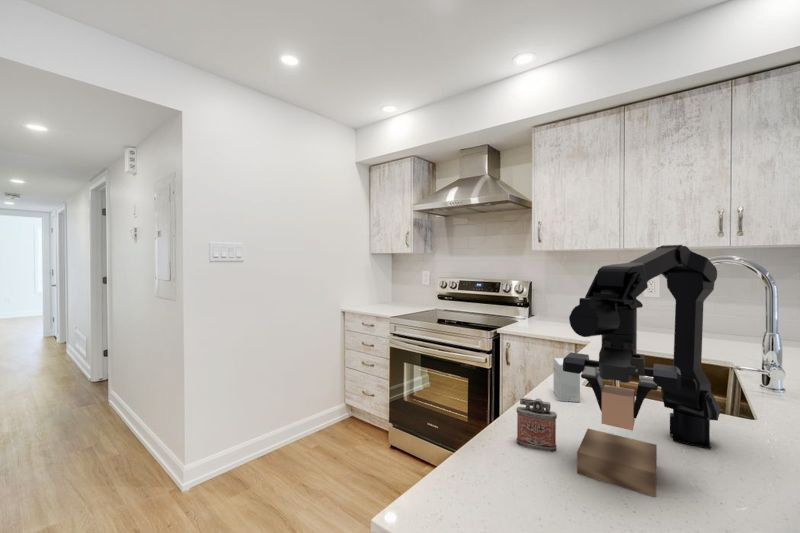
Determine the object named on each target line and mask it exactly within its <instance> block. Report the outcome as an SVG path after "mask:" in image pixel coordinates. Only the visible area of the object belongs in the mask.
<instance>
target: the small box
mask: <svg viewBox="0 0 800 533" xmlns="http://www.w3.org/2000/svg"><path fill="white" fill-rule="evenodd" d="M564 358H565V357H562V358H561V357H553V361H552V362H553V393H554V395H555V396H556V398H557V400H559V402H568V401H569V402H571V403H580V402H581V373H580V374H577V373H571V372H565V371H563V359H564ZM569 402H568V403H569Z"/></svg>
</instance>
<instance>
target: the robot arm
mask: <svg viewBox="0 0 800 533" xmlns="http://www.w3.org/2000/svg"><path fill="white" fill-rule="evenodd" d="M660 275H661V276H663V277H664V278H665V279H666V286H667V287H666V288H667V289H668V291H669V292H670V294H671V295H672V297H673V298H674V299H675V306H674V308H675V311H674V315H675V316H674V336H673V363H672V365H670V364H669V365H668V364H662V363H661V364H660V363H656V362H655V363H653V367H646V366H645V364H646V363H645V362H646V361H645V354H639V353H637V352H638V350H637V348H638V346H637V343H638V341H637V340H638V338H637V337H638V333H637V331H638V329H637V328H638V326H637V325H638V324H637V323H638V311H637V310H638V309H640V308H641V309H642V308H643V306H644V305H643V303H642V302H641V301H640V300H638V299H637V298H638V297H639V296H640V295H641V294H642V293H643V292H644V291H645V290H647V289H648V288H649V285H648V282H649V281H650V280H651V281H652V279H654V278H656V277H658V276H660ZM717 279H718V269H717V267H716V265H715V264H714V263H712V261H711V260H709V258H708V257H705V256H704V255H702V254H699V253H697V252H694V251H692V250H691V249H690V248H689V247H688V246H687V245H683V244H669V245H660V246H658V247H656V248H655V249H654V250H652V251H650V252H648V253H646V254H643V255H641V256H640V257H637V258H636V259H633V260H631V261H629V262H625V263H615V264H607V265H602V266H600V267H599V269H598V270H597V273H596V275H595V276H594V277H593V280H592V282H591V284H590V286H589V288H588V290H587V293H586V295H585V296H584V297H580V298H579V304H577V305H575V306H574V307H573V308H572V310H571V313H570V314H569V318H568V319H569V324H570V328H571V329H572V330H573V332H574V333H575V334H576V335H578V336H580V337H582V338H589V337H596V336H597V337H598V336H601V348H600V349H599V350H600V351H598V352H599V353H598V360H593V359H590V356H589V354H587V353H586V354H585V353H578V352H568V354H567V355H566V356H565V357H563V358H564V359H563V371H565V372H571V373H577V374H580V379H584V380H587V382H588V383H589V385H590V388H592V391H593V393H594V396H595V399H596V403H597V405H598V407H599V410H600V412H602V390H603V388H604V384H603V380H606V381H608V380H611V381H612V380H613V381H619V382H621V383H625V384H626V383H630V382H632V377H635V378H639V379H638V383H637V388H636V393H635V405H634V418H635V420H636V419H637V418H638V415H639V412H640V410H641V407H642V406H643V403H644V400H645V398H646V397H647V395H649V393H650V392H651V391H658V389H659V387H660V391H661V392H660V393H661V397H662V401H663V405H664V406H663V407H664V408H667V409H671V410H672V412H670V413H669V434H670V435H671V436H672V437H671V438H672V441H674V442H678V443H681V444H686V445H689V446H695V447H699V448H703V449H707V450H711V449H712V445H711V442H710V441H711V440H710V436H711V435H710V434H711V433H710V432H711V430H710V429H711V427H710V426H711V423H710V422H711V421H719V417H720V414H721V406H720V405H719V403H718V401H717V400H716V398H715V396H714V395H713V393H712V389H711V388H712V385H711V381H710V380H709V378H708V377H707V375H706V373H705V372H704V371H703V368H702V357H703V356H702V355H703V351H702V350H703V331H704V330H703V328H704V327H703V326H704V323H703V322H704V302H705V301H706V299H707V298H708V297H709V296H710V295H711V294H712V293H713V291H714V289H715V282H717V281H716V280H717Z"/></svg>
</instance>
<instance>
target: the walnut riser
mask: <svg viewBox="0 0 800 533" xmlns="http://www.w3.org/2000/svg"><path fill="white" fill-rule="evenodd" d="M576 452H577V453H576V474H579V475H581V476H584V477H585V476H586V477H588V478H592V479H595V480H599V481H600V482H601V481H602V482H605V483H609V484H611V485H614V486H618V487H621V488H623V489H628V490H631V491H634V492H637V493H640V494H644V495H646V496H650V497H654V498H656V496H657V495H656V493H657V491H656V490H657V460H658V458H657V457H658V455H657V452H658V447H657V444H656V443H650V442H647V441H644V440H643V441H642V440H638V439H634V438H631V437H625V436H622V435H618V434H614V433H608V432H604V431H600V430H596V429H592V428H587V429H586V432H585V434H584V436H583V438H582V441H581V442H580V444H579V447H578V449H577V451H576Z"/></svg>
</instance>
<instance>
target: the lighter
mask: <svg viewBox="0 0 800 533" xmlns="http://www.w3.org/2000/svg"><path fill="white" fill-rule="evenodd" d="M519 404H520V405H521V406H517V407H516V413H517V414H516V415H517V416H516V418H517V421H516V422H517V424H516V425H517V426H516V427H517V430H516V431H517V432H516V433H517V434H516V438H515V440H516V445H518V446H520V447H523V448H526V449H531V450H536V451H540V452H548V453H549V452H550V453H556V451H557V444H556V442H557V441H556V432H557V428H556V426H557V425H556V424H557V423H556V422H557V421H556V420H557V416H558V414H557V412H555V411H551V402H549V401H543V400H542V398H541V399H540V398H538V397H537V398H535V399H532V398H529V397H523V396H522V397H520V398H519Z"/></svg>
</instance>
